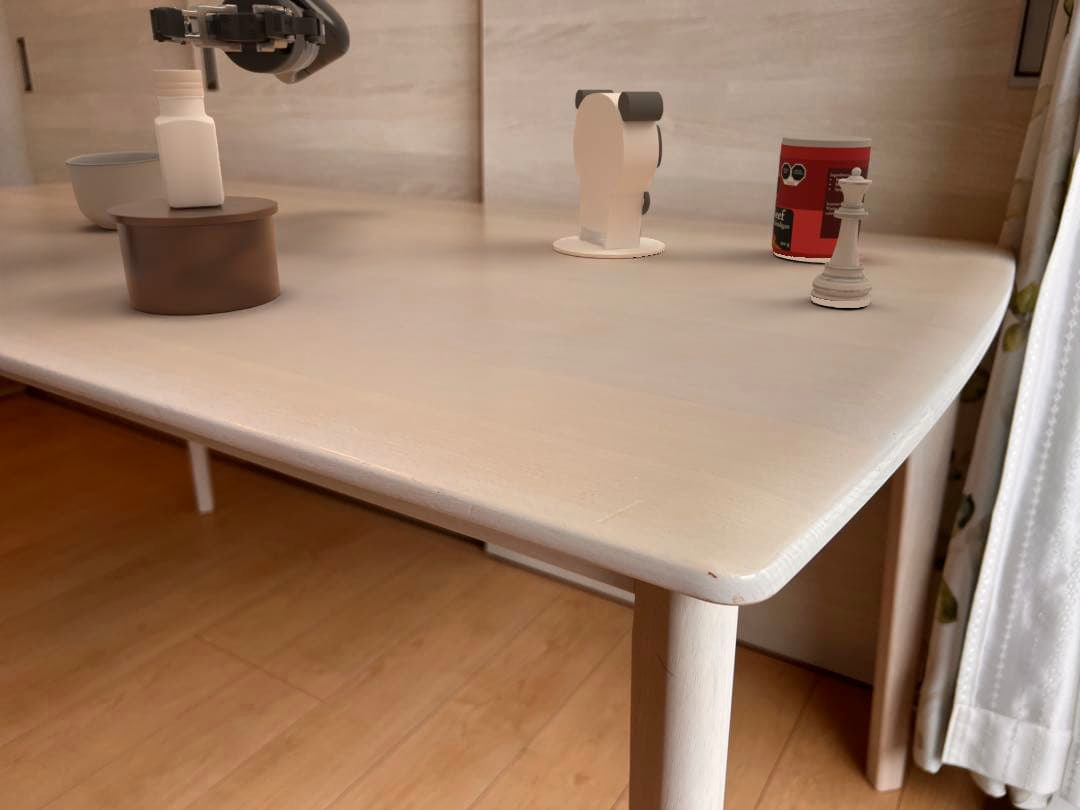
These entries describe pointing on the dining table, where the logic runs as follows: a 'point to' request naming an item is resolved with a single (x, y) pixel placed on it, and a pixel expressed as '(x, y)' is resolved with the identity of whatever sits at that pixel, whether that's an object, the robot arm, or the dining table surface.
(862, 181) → the chess piece
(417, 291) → the dining table surface
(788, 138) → the canned food
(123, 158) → the teacup
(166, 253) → the walnut stand
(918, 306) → the dining table surface
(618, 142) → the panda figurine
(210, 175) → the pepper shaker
